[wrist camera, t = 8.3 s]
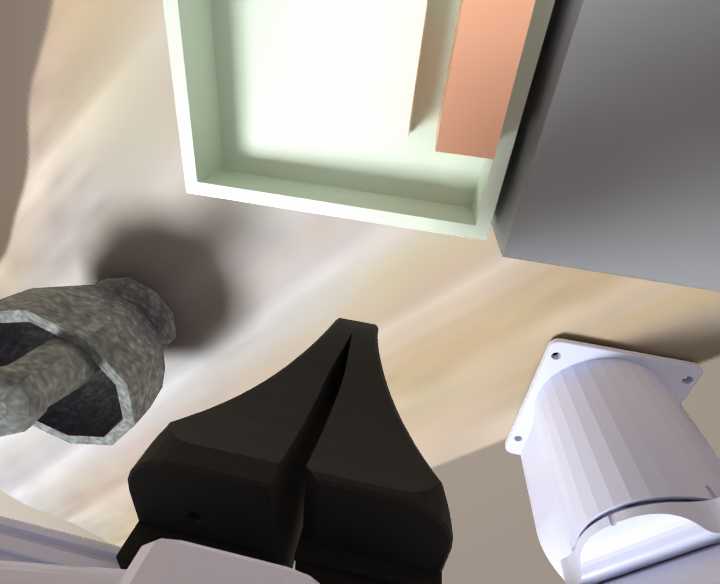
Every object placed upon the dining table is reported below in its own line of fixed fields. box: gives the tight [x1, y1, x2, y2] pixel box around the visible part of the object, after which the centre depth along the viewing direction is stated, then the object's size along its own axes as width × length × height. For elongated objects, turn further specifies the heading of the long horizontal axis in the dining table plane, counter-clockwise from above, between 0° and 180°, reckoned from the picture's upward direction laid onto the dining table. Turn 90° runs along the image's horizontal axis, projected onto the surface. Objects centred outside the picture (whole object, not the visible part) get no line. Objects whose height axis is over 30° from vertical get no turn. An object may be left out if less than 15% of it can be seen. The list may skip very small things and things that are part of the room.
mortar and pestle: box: [0, 277, 176, 445], centre depth 22 cm, size 11×9×12 cm
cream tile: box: [291, 0, 430, 140], centre depth 16 cm, size 5×5×2 cm
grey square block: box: [491, 0, 720, 292], centre depth 14 cm, size 12×12×4 cm
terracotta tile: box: [435, 0, 536, 159], centre depth 14 cm, size 5×5×2 cm
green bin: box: [163, 0, 555, 241], centre depth 16 cm, size 12×14×3 cm
